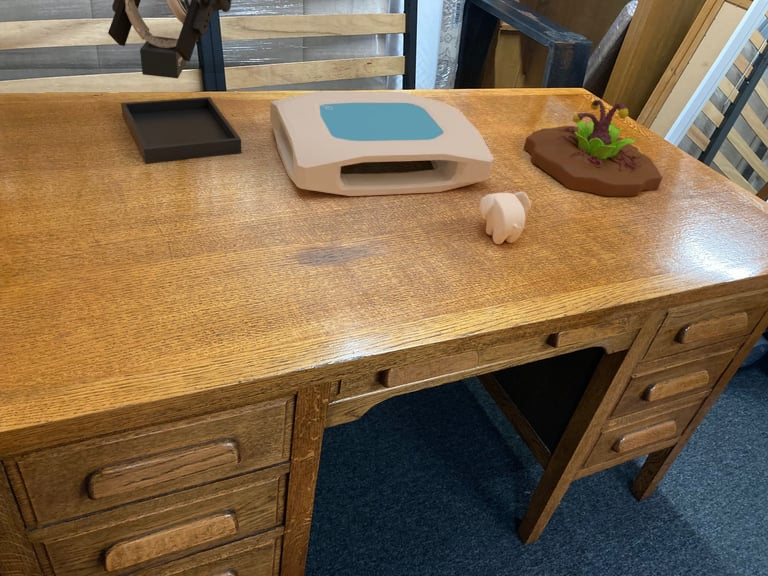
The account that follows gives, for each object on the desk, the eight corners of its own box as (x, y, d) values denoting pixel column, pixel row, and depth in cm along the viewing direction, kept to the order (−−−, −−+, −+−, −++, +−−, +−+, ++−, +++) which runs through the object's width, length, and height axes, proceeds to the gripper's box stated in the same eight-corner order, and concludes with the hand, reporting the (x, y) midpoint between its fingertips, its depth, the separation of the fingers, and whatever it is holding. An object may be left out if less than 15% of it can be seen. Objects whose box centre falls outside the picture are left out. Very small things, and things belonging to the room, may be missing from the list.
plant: (570, 201, 91) (597, 129, 84) (508, 140, 105) (526, 75, 98) (677, 194, 98) (710, 127, 91) (605, 138, 112) (629, 76, 105)
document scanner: (488, 190, 90) (499, 151, 86) (297, 200, 81) (300, 156, 77) (434, 127, 105) (441, 91, 102) (268, 129, 96) (269, 89, 92)
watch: (193, 80, 80) (188, -13, 73) (128, 72, 79) (116, -22, 72) (201, 64, 84) (197, -24, 77) (139, 57, 83) (129, -33, 76)
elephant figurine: (505, 216, 85) (516, 178, 81) (535, 250, 79) (549, 210, 76) (461, 220, 83) (471, 181, 79) (489, 255, 77) (501, 214, 73)
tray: (122, 116, 93) (120, 102, 92) (210, 109, 99) (209, 96, 98) (145, 163, 83) (143, 149, 82) (241, 152, 89) (241, 139, 88)
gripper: (290, -79, 81) (238, 80, 79) (144, -109, 84) (88, 45, 81) (275, -125, 74) (217, 49, 71) (115, -156, 77) (53, 12, 74)
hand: (149, 47), depth 76 cm, fingers closed on watch, 8 cm apart
